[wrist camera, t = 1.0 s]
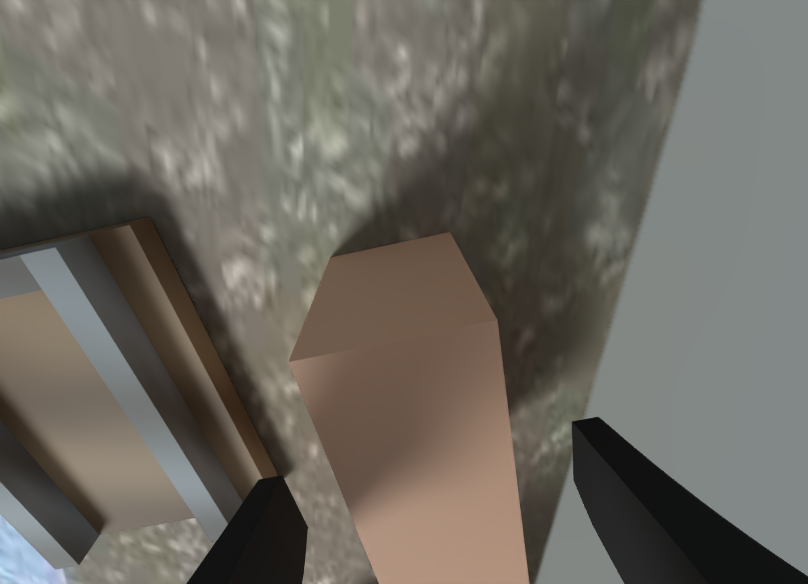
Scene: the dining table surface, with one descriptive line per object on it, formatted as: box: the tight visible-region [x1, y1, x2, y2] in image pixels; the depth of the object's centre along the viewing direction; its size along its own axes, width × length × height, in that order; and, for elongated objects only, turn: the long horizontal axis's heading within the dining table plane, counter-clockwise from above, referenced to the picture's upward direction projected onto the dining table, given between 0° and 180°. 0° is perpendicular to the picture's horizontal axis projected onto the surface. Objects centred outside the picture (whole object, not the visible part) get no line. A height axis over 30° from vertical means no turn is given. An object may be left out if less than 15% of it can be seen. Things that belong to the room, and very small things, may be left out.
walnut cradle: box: [0, 217, 278, 569], centre depth 14 cm, size 12×10×2 cm
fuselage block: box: [289, 232, 529, 584], centre depth 12 cm, size 9×4×6 cm, turn 12°
